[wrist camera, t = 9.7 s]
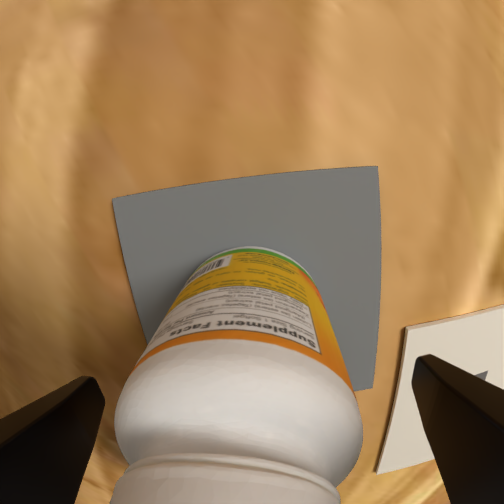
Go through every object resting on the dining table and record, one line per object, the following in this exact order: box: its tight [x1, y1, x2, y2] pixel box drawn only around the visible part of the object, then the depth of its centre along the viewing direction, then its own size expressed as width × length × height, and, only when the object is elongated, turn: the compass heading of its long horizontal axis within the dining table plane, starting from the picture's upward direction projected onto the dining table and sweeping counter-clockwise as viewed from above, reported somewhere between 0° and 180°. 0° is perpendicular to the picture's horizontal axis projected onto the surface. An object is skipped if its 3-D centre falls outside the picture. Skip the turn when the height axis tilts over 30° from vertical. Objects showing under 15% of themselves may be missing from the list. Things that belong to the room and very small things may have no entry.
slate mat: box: [112, 166, 381, 391], centre depth 12 cm, size 10×10×1 cm
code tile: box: [376, 304, 504, 475], centre depth 14 cm, size 12×9×1 cm
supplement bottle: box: [110, 246, 363, 504], centre depth 7 cm, size 5×5×10 cm
